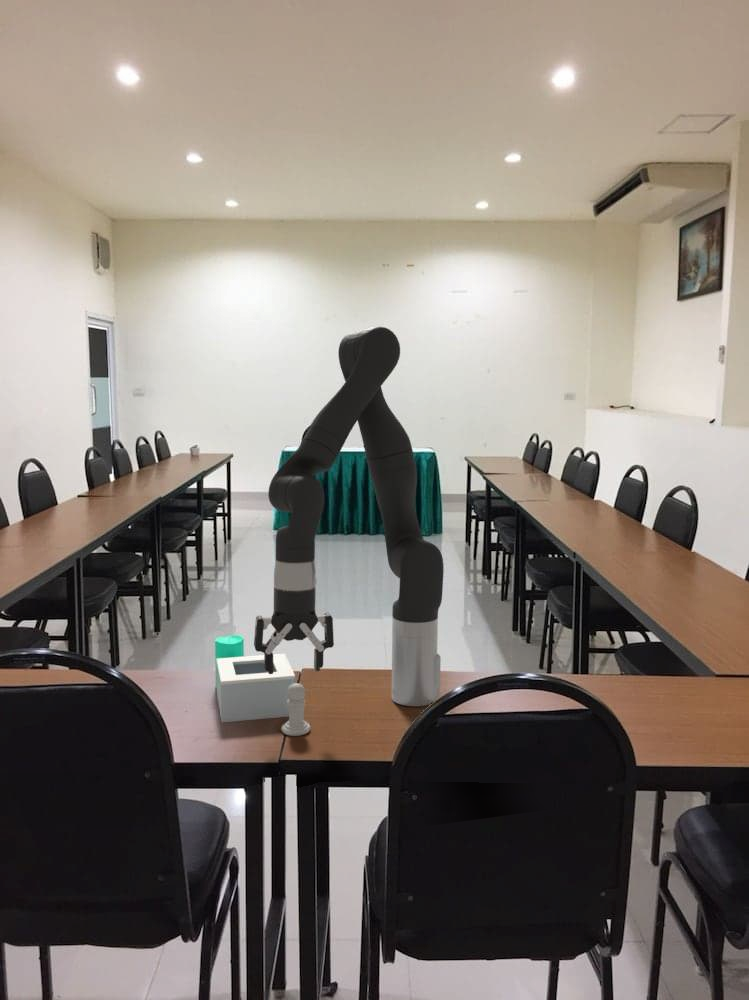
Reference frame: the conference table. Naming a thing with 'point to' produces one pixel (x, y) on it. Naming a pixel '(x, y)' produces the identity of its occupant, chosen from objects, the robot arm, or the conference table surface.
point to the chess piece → (295, 712)
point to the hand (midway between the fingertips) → (293, 671)
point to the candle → (228, 648)
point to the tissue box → (253, 688)
